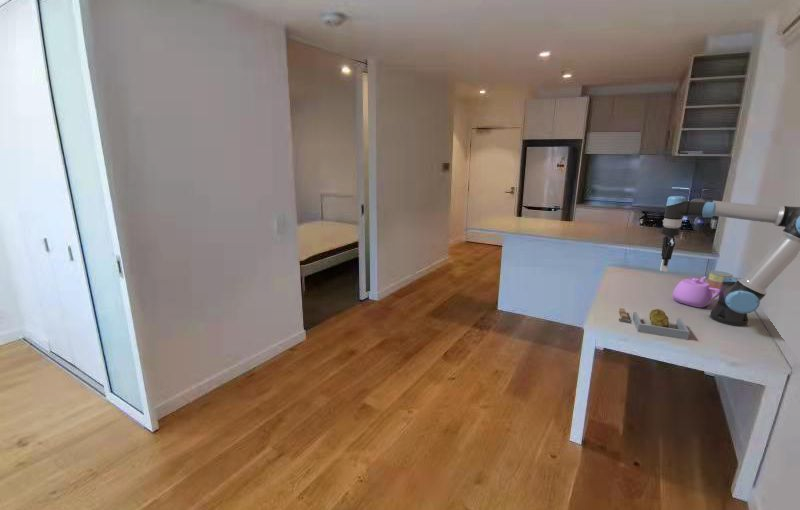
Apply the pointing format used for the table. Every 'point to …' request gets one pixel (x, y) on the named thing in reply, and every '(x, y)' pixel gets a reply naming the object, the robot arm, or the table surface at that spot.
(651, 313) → the potato
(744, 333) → the table surface
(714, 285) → the canned food
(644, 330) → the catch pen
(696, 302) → the teapot
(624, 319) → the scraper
